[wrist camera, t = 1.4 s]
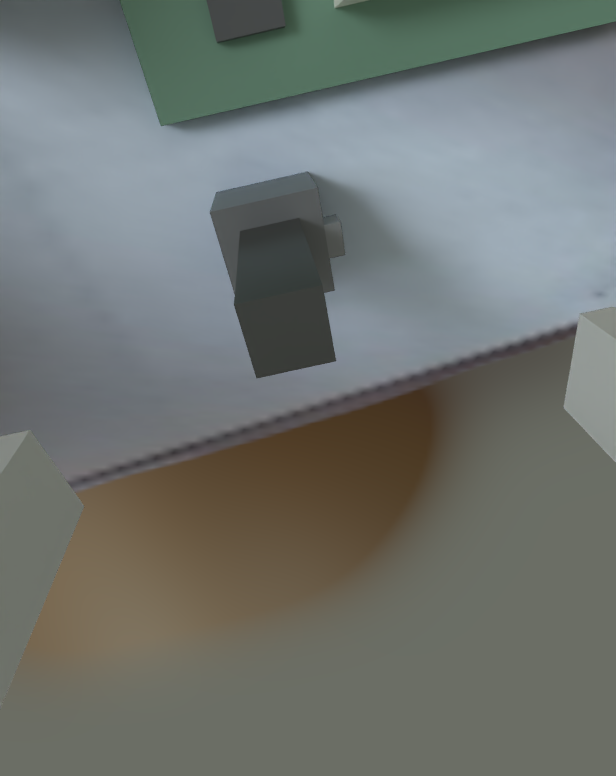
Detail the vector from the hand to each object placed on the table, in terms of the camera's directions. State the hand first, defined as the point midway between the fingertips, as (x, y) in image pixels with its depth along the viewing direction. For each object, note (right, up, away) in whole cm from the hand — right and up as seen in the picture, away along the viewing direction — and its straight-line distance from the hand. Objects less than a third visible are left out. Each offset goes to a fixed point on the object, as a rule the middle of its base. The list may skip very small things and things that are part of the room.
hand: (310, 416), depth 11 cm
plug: (-2, +10, +14) cm, 17 cm away
